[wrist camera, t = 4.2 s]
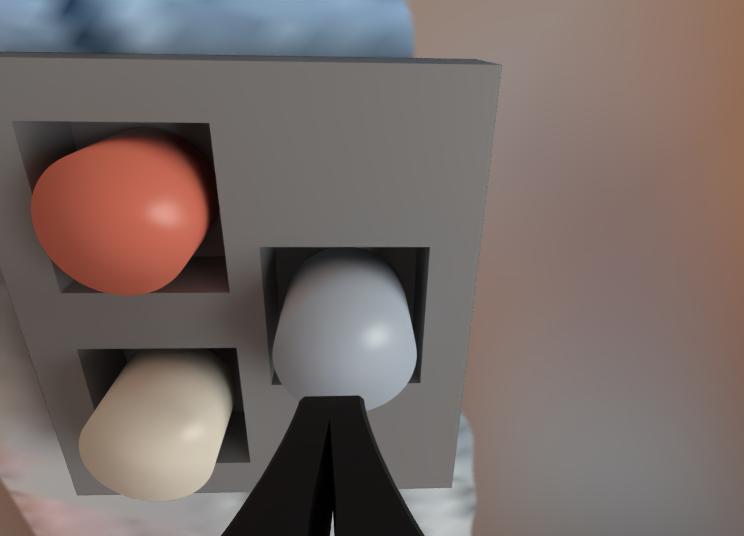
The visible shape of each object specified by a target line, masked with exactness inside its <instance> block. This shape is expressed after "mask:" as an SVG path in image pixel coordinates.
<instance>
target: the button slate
mask: <svg viewBox="0 0 744 536" xmlns="http://www.w3.org/2000/svg"><path fill="white" fill-rule="evenodd" d="M416 359H417V349H416V343H415V338H414V333H413V329H412V324H411V319H410V314H409V309H408V305H407V300H406V295H405V290H404V286H403V283H402V281H401V279H400V277H399V275H398V273H397V272H396V270H395V269H394V268H393V267H392V266H391V265H390V264H389V263H388V262H387V261H386V260H385V259H383V258H382V257H380V256H379V255H377V254H375V253H373V252H370V251H367V250H364V249H361V248H355V247H336V248H331V249H327V250H324V251H321V252H319V253H317V254H315V255H313V256H311V257H310V258H308V259H307V260H306V261H304V262H303V263H302V264H301V265H300V266H299V267H298V268H297V270H296V271H295V273H294V274H293V276H292V278H291V280H290V282H289V285H288V288H287V292H286V296H285V300H284V304H283V308H282V312H281V316H280V320H279V324H278V328H277V332H276V336H275V340H274V345H273V364H274V368H275V371H276V374H277V376H278V378H279V380H280V382H281V383H282V385H283V386H284V387H285V389H286V390H287V391H288V392H289V393H290V394H291V395H292V396H294V397H295V398H296V399H298V400H299V401H300V400H301V399H302V398H303V397H304V396H353V395H359V396H361V397H362V398H363V399H364V403H365V408H366V411H368V410H372V409H374V408H377V407H379V406H381V405H383V404H385V403H387V402H388V401H390V400H391V399H393V398H394V397H395V396H396V395H398V394H399V393H400V392H401V391H402V390H403V388H404V387H405V386H406V385H407V383H408V382H409V380H410V378H411V376H412V374H413V372H414V368H415V365H416Z"/></svg>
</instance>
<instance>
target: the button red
mask: <svg viewBox="0 0 744 536" xmlns="http://www.w3.org/2000/svg"><path fill="white" fill-rule="evenodd" d="M219 210H220V207H219V199H218V191H217V182H216V175H215V173H214V171H213V169H212V167H211V165H210V164H209V162H208V161H207V159H206V158H205V157H204V156H203V154H202V153H201V152H200V151H199V150H198V149H197V148H196V147H194V146H193V145H192V144H190V143H189V142H188V141H186V140H185V139H183V138H181V137H180V136H177V135H175V134H173V133H171V132H168V131H165V130H161V129H156V128H134V129H129V130H126V131H123V132H120V133H118V134H116V135H113V136H111V137H109V138H106V139H104V140H102V141H100V142H97V143H95V144H93V145H90V146H88V147H86V148H83V149H81V150H79V151H76V152H74V153H72V154H70V155H67V156H65V157H63V158H61V159H59V160H58V161H56V162H55V163H53V164H52V165H51V166H49V167H48V168H47V169H46V170H45V172H44V173H43V174H42V175H41V177H40V178H39V180H38V181H37V184H36V186H35V188H34V191H33V195H32V200H31V216H32V222H33V227H34V230H35V232H36V235H37V238H38V240H39V242H40V244H41V246H42V247H43V249H44V250H45V252H46V253H47V255H48V256H49V257H50V258H51V259H52V261H53V262H54V263H55V264H56V265H57V266H58V267H59V268H60V269H61V270H62V271H64V272H65V273H66V274H67V275H69V276H70V277H72V278H73V279H75V280H76V281H78V282H79V283H81V284H83V285H85V286H87V287H90V288H92V289H95V290H97V291H101V292H104V293H108V294H114V295H125V296H131V295H141V294H146V293H150V292H153V291H156V290H158V289H160V288H162V287H164V286H165V285H167V284H168V283H170V282H171V281H172V280H173V279H174V278H176V277H177V276H178V274H179V273H180V272H181V271H182V269H183V268H184V267H185V265H186V264H187V262H188V261H189V260H190V258H191V257H192V255H193V254H194V252H195V251H196V250H197V248H198V247H199V245H200V244H201V243H202V241H203V240H204V238H205V237H206V236H207V234H208V233H209V231H210V230H211V229H212V227H213V225H214V224H215V222H216V219H217V217H218V214H219Z"/></svg>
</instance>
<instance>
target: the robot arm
mask: <svg viewBox="0 0 744 536" xmlns="http://www.w3.org/2000/svg"><path fill="white" fill-rule="evenodd" d="M332 513H333V518H334V534H335V536H424V534H423V532H422V531H421V529H420V528H419V526H418V524H417V523H416V521H415V519H414V518H413V516H412V514H411V512H410V511H409V509H408V507H407V505H406V503H405V502H404V500H403V498H402V496H401V494H400V492H399V490H398V488H397V487H396V485H395V483H394V481H393V479H392V476H391V474H390V472H389V470H388V468H387V466H386V463H385V461H384V459H383V457H382V455H381V452H380V450H379V448H378V445H377V443H376V440H375V437H374V435H373V432H372V429H371V426H370V423H369V420H368V416H367V413H366V408H365V403H364V399H363V398H362V397H361V396H359V395H353V396H304V397H303V398H302V399H301V400H300V401H299V404H298V407H297V409H296V412H295V414H294V416H293V419H292V421H291V423H290V425H289V427H288V429H287V431H286V433H285V435H284V437H283V439H282V441H281V443H280V445H279V447H278V449H277V450H276V452H275V454H274V456H273V457H272V459H271V461H270V463H269V465H268V466H267V468H266V470H265V471H264V473H263V475H262V476H261V478H260V480H259V481H258V483H257V484H256V486H255V487H254V489H253V490H252V492H251V493H250V495H249V497H248V498H247V500H246V501H245V503H244V504H243V506H242V507H241V509H240V510H239V512H238V513H237V514H236V516H235V517H234V519H233V520H232V522H231V523H230V524H229V526H228V527H227V528H226V530H225V531H224V532H223V534H222V535H221V536H330V530H331V522H332Z"/></svg>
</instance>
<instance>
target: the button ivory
mask: <svg viewBox="0 0 744 536" xmlns="http://www.w3.org/2000/svg"><path fill="white" fill-rule="evenodd" d="M236 394H237V387H236V382H235V379H234V376H233V374H232V372H231V370H230V369H229V367H228V366H227V365H226V363H225V362H224V361H223V360H222V359H221V358H220V357H218V356H217V355H216V354H214V353H213V352H211V351H210V350H208V349H206V348H152V349H140V350H139V351H137V352H136V353H135V354H134V355H133V356H132V357H131V358H130V359H129V361H128V362H127V364H126V365H125V367H124V368H123V370H122V371H121V373H120V374H119V376H118V377H117V379H116V380H115V382H114V383H113V385H112V386H111V387H110V389H109V390H108V392H107V393H106V395H105V396H104V398H103V399H102V401H101V402H100V404H99V405H98V407H97V408H96V410H95V411H94V413H93V414H92V416H91V417H90V418H89V420H88V421H87V423H86V424H85V426H84V428H83V429H82V431H81V434H80V437H79V453H80V457H81V459H82V462H83V464H84V465H85V467H86V469H87V470H88V471H89V472H90V474H91V475H92V476H93V477H94V478H95V479H96V480H97V481H99V482H100V483H101V484H103V485H104V486H106V487H107V488H109V489H111V490H113V491H115V492H117V493H119V494H121V495H124V496H127V497H130V498H134V499H139V500H145V501H169V500H175V499H179V498H182V497H185V496H188V495H190V494H192V493H194V492H196V491H197V490H198V489H200V488H201V487H202V486H203V485H204V484H205V483H206V482H207V481H208V479H209V478H210V476H211V474H212V472H213V469H214V466H215V463H216V460H217V457H218V454H219V450H220V447H221V444H222V441H223V438H224V434H225V431H226V428H227V425H228V422H229V419H230V415H231V412H232V409H233V406H234V403H235V399H236Z"/></svg>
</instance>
